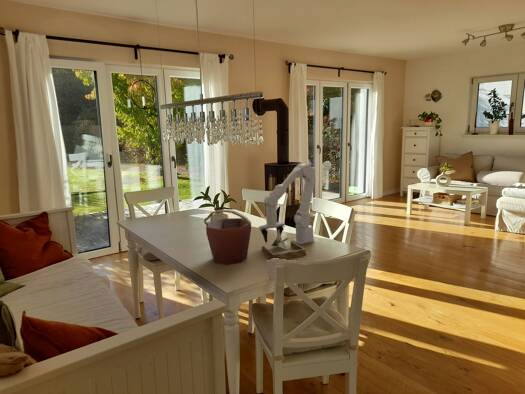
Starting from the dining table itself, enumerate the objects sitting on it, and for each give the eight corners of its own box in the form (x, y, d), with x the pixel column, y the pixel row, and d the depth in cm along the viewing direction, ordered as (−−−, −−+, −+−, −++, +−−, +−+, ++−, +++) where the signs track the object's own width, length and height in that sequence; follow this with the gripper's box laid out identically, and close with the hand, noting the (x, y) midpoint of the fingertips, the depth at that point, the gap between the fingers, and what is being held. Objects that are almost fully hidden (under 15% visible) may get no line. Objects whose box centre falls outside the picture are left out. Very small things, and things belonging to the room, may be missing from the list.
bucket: (197, 261, 188) (193, 213, 183) (225, 248, 206) (222, 204, 201) (236, 270, 174) (233, 218, 169) (262, 255, 192) (260, 208, 187)
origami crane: (265, 236, 205) (275, 226, 199) (281, 240, 210) (291, 231, 204) (267, 253, 198) (277, 243, 192) (283, 257, 203) (294, 248, 197)
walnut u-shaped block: (292, 246, 204) (292, 241, 204) (305, 254, 191) (305, 249, 190) (262, 251, 198) (261, 246, 197) (273, 260, 184) (273, 255, 183)
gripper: (280, 213, 210) (281, 236, 212) (256, 217, 205) (257, 240, 207) (285, 216, 203) (286, 240, 206) (261, 219, 198) (262, 244, 201)
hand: (272, 240), depth 206 cm, fingers open, 7 cm apart
